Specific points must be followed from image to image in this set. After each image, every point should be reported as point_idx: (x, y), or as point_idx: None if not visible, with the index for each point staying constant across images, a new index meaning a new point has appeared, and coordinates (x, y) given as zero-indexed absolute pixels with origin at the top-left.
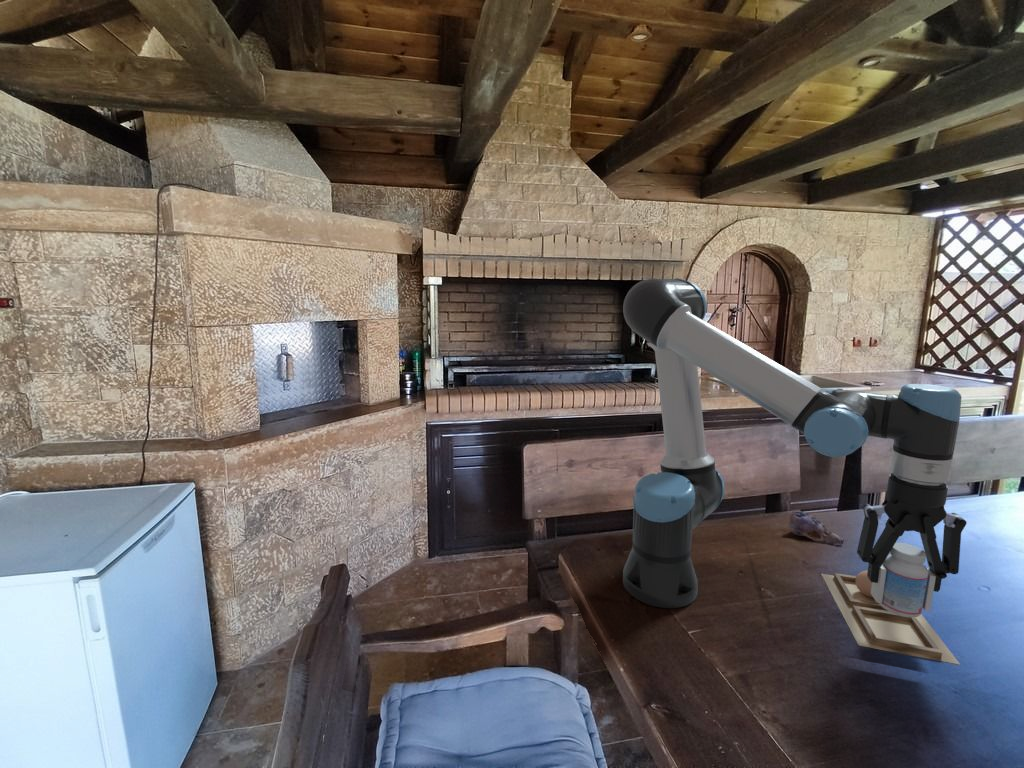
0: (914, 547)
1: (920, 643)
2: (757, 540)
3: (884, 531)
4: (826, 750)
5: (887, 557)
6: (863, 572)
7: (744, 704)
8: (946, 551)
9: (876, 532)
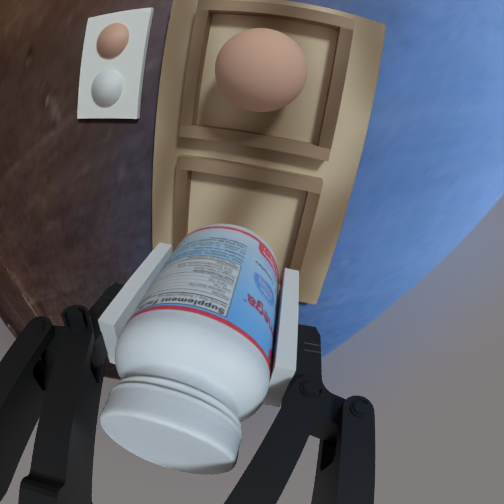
0: (205, 449)
1: (279, 258)
2: None
3: (38, 458)
4: (104, 372)
5: (118, 366)
6: (228, 57)
7: None
8: (325, 488)
9: (18, 461)
